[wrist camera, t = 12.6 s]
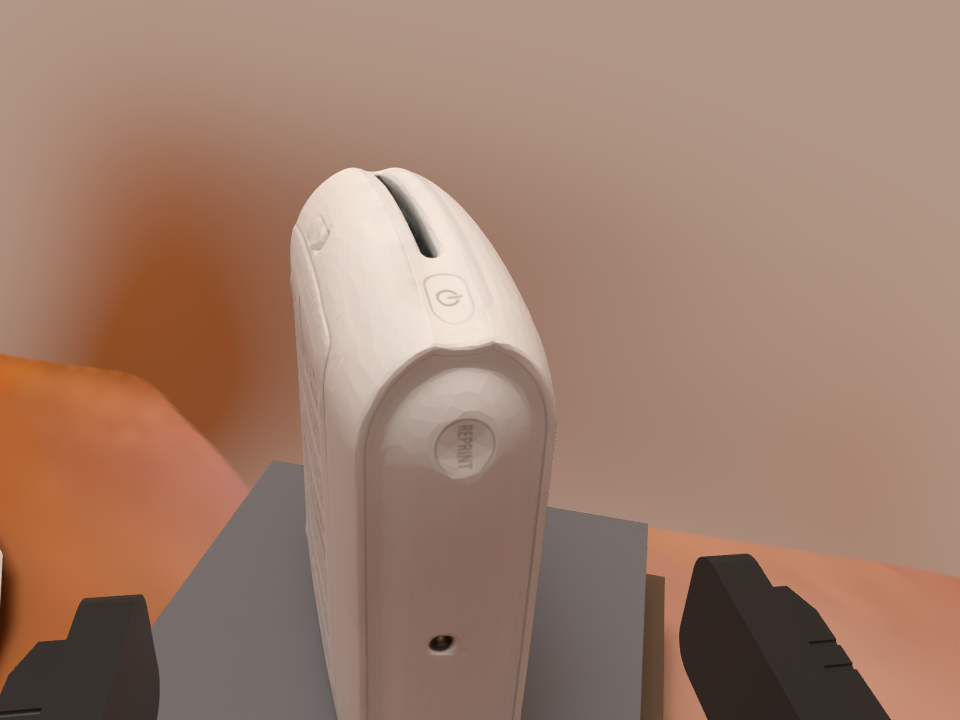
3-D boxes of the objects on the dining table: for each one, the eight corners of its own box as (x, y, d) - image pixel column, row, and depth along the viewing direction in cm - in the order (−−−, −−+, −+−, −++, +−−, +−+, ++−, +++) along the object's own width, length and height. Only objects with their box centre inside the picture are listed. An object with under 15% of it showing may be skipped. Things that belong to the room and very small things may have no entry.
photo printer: (539, 791, 19) (609, 287, 13) (349, 839, 18) (328, 309, 12) (432, 507, 27) (443, 126, 21) (298, 527, 26) (272, 129, 20)
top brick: (50, 883, 19) (22, 803, 18) (278, 527, 31) (273, 460, 29) (610, 1029, 17) (630, 952, 16) (635, 591, 29) (647, 523, 27)
